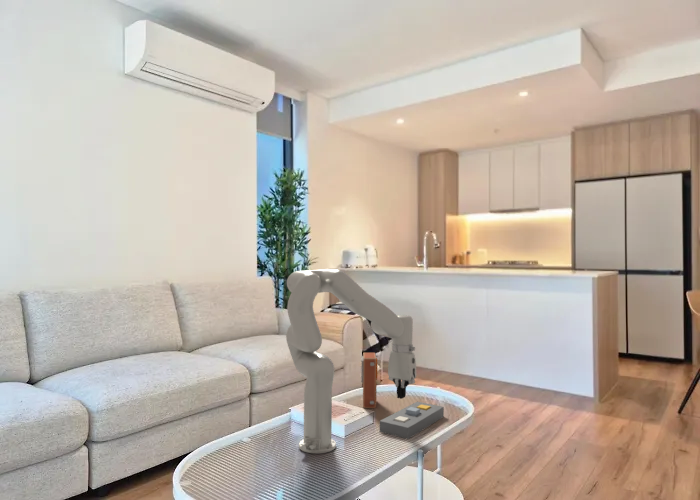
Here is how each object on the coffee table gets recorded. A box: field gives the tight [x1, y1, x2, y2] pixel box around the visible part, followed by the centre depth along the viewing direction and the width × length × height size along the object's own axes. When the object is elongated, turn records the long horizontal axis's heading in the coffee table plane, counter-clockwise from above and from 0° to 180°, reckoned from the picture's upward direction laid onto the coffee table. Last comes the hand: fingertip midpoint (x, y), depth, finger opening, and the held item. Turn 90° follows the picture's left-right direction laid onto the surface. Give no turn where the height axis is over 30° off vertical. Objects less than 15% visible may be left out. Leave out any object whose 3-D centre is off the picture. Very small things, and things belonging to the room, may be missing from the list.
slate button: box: [406, 407, 420, 416], centre depth 188 cm, size 4×4×3 cm
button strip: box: [379, 401, 445, 440], centre depth 188 cm, size 30×12×4 cm, turn 145°
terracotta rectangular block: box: [360, 352, 378, 409], centre depth 213 cm, size 21×7×15 cm
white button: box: [394, 416, 409, 423], centre depth 181 cm, size 4×4×3 cm
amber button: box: [417, 404, 430, 410], centre depth 196 cm, size 4×4×3 cm
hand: (401, 397), depth 181 cm, fingers closed
